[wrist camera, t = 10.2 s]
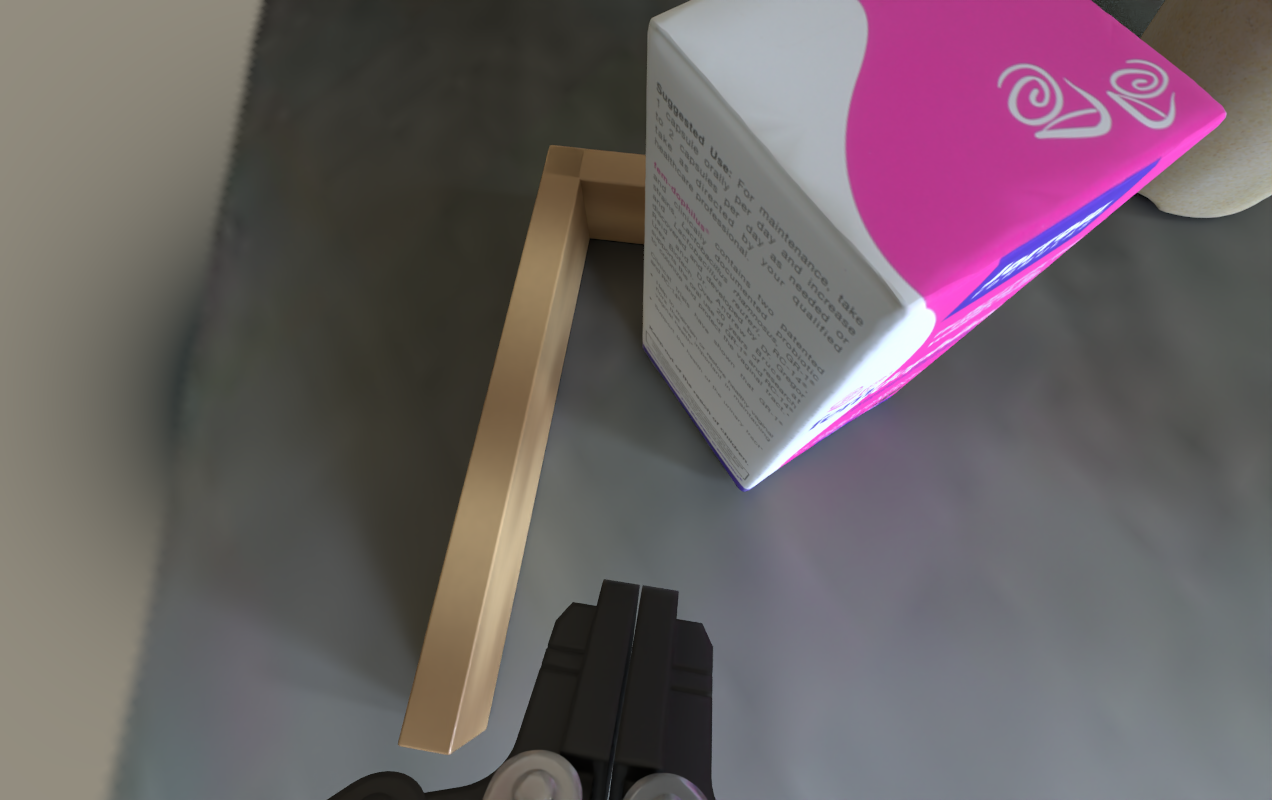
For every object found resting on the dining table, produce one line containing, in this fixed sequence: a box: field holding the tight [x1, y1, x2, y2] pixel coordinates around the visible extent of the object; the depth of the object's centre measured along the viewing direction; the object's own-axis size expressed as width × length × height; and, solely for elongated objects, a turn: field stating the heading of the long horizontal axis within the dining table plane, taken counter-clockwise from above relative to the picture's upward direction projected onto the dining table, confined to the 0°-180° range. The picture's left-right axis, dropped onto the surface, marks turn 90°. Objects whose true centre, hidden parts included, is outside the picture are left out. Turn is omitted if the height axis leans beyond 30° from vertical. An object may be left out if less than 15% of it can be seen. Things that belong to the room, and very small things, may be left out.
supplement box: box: [642, 0, 1227, 491], centre depth 13 cm, size 6×6×12 cm
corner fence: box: [398, 145, 646, 755], centre depth 16 cm, size 16×11×3 cm, turn 171°
